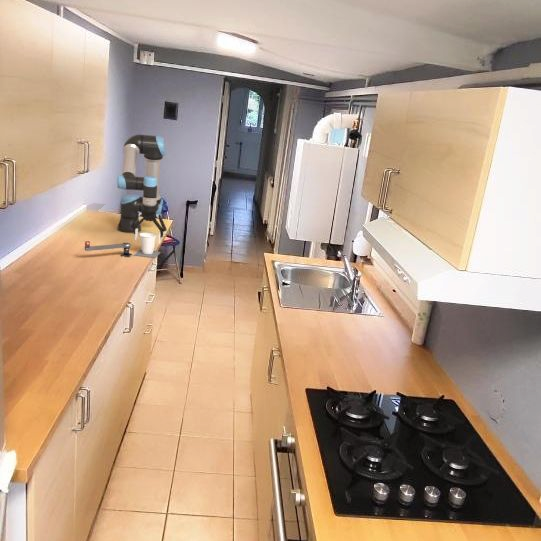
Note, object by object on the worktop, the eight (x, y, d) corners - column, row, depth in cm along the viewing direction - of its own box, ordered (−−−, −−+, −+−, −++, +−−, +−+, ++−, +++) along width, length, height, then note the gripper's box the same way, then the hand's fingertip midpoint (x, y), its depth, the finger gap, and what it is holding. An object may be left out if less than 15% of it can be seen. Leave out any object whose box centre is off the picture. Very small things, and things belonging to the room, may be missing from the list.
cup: (154, 256, 310) (155, 237, 307) (136, 254, 310) (137, 235, 306) (158, 251, 319) (158, 233, 316) (141, 250, 319) (141, 231, 316)
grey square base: (123, 253, 310) (123, 245, 309) (132, 254, 310) (132, 246, 309) (120, 256, 306) (120, 247, 304) (129, 257, 305) (129, 249, 304)
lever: (83, 249, 293) (83, 240, 292) (128, 245, 309) (128, 237, 308) (86, 251, 290) (86, 242, 288) (131, 247, 306) (132, 239, 305)
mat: (140, 250, 321) (140, 249, 321) (160, 252, 320) (160, 251, 320) (134, 255, 309) (134, 254, 309) (154, 258, 309) (155, 257, 309)
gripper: (125, 203, 303) (124, 240, 309) (169, 208, 302) (167, 245, 308) (129, 200, 310) (128, 237, 317) (173, 206, 309) (171, 242, 316)
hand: (148, 241), depth 312 cm, fingers open, 13 cm apart
